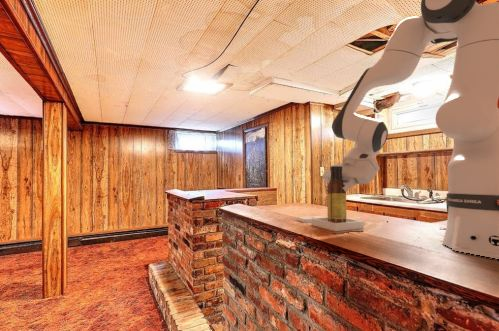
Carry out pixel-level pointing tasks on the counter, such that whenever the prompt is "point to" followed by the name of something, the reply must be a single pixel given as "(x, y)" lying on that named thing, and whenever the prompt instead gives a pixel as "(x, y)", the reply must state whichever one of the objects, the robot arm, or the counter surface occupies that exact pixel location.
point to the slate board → (300, 221)
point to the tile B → (304, 219)
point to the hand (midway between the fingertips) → (335, 189)
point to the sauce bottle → (336, 197)
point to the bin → (338, 225)
